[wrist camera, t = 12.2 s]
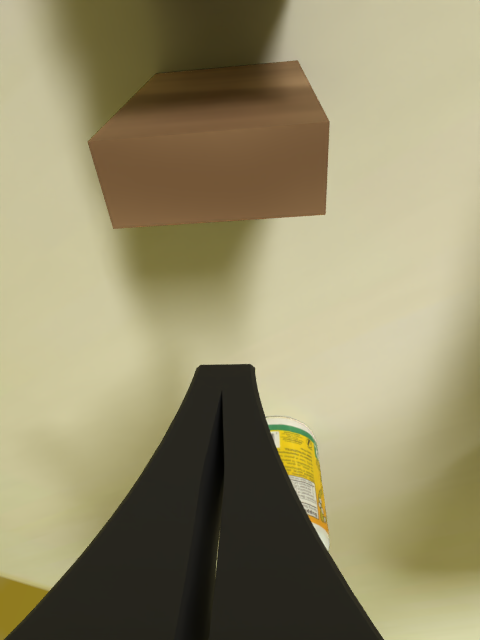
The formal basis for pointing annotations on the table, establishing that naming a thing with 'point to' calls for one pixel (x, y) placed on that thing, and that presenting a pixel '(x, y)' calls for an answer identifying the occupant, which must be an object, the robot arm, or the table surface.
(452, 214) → the table surface
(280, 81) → the domino
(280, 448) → the supplement bottle
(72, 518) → the table surface
